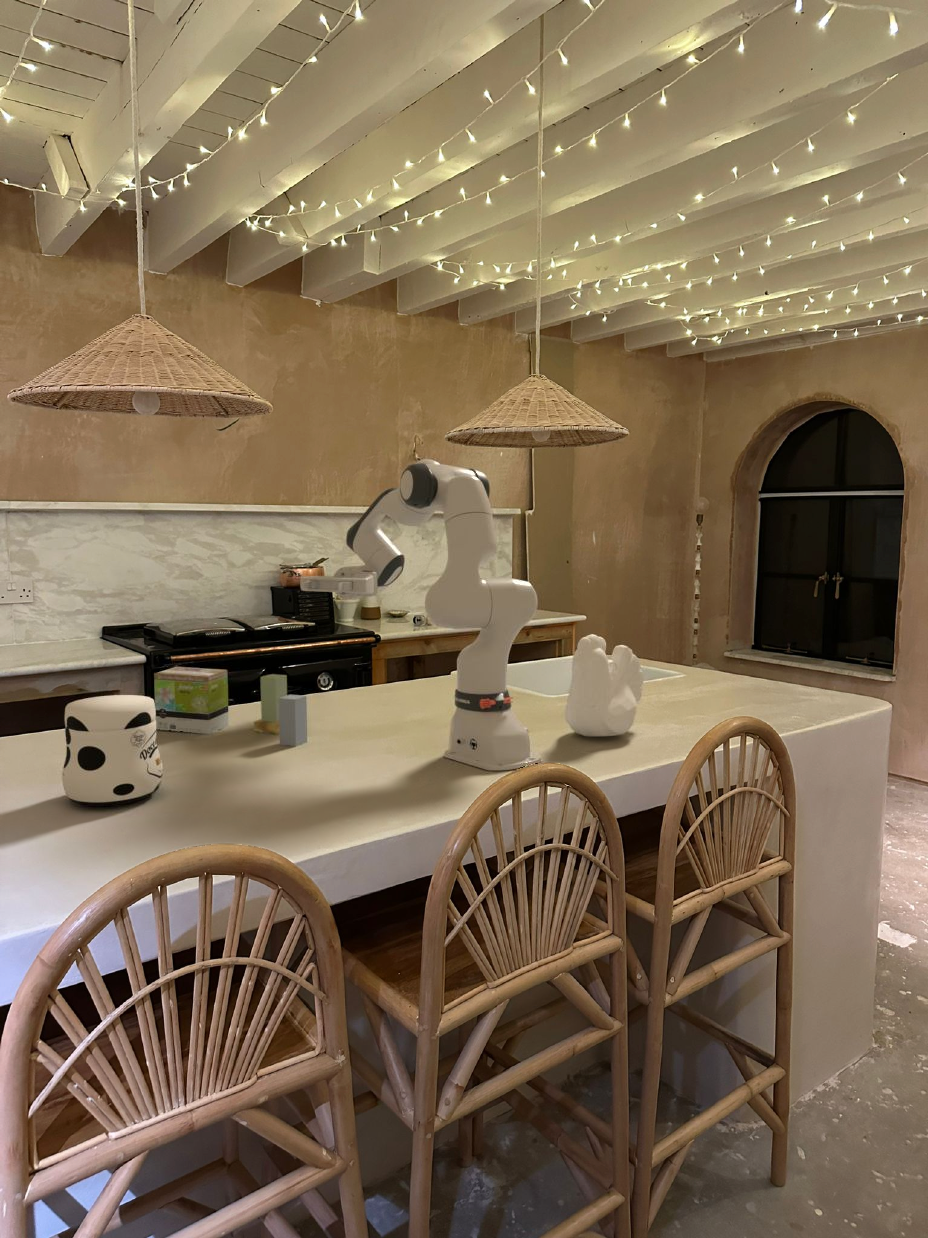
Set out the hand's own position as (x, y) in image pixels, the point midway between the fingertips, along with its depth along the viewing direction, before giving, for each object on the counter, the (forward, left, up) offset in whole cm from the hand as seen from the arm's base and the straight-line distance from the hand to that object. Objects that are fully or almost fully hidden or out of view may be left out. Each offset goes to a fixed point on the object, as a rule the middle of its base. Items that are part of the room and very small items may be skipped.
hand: (320, 586), depth 219 cm
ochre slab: (-3, +14, -35) cm, 38 cm away
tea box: (+9, +31, -35) cm, 48 cm away
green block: (-4, +14, -32) cm, 36 cm away
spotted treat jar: (-39, +57, -35) cm, 78 cm away
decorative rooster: (-49, -55, -35) cm, 82 cm away
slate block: (-18, +15, -35) cm, 42 cm away
